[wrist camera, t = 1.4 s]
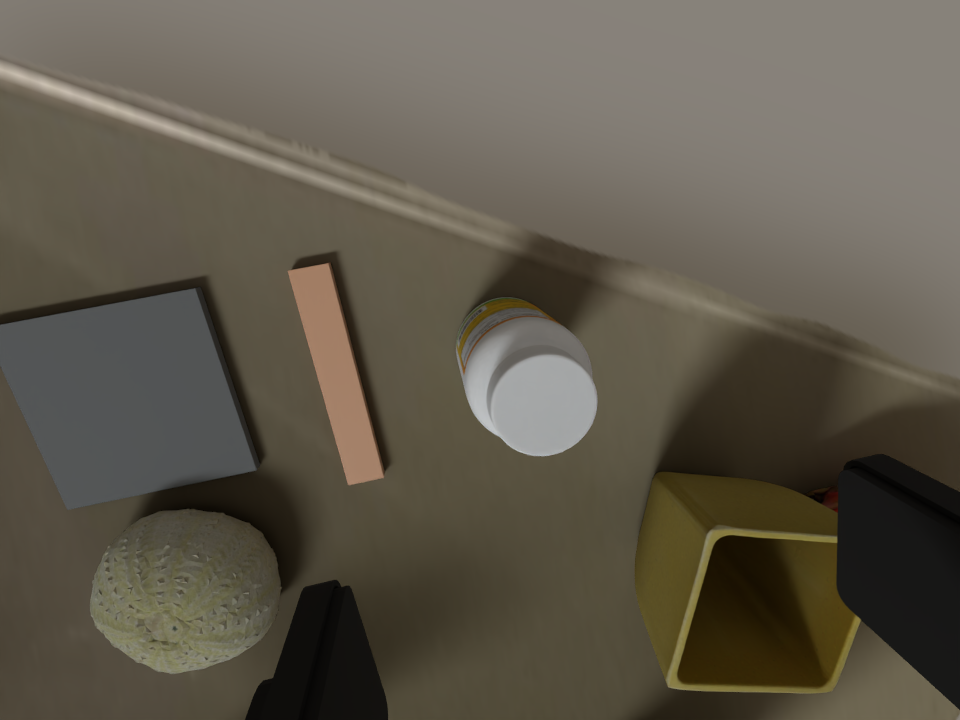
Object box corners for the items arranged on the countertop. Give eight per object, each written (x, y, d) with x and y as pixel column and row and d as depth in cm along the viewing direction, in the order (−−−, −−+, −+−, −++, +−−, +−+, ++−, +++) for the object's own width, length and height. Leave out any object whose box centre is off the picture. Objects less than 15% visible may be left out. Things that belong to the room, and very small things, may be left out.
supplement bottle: (554, 385, 28) (618, 465, 19) (460, 396, 28) (478, 483, 19) (550, 290, 27) (617, 326, 18) (450, 300, 26) (464, 342, 17)
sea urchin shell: (118, 480, 25) (176, 602, 21) (260, 472, 32) (325, 564, 28) (54, 617, 27) (96, 756, 23) (201, 583, 33) (255, 685, 29)
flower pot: (600, 566, 32) (665, 693, 23) (628, 440, 30) (712, 528, 21) (727, 572, 33) (834, 695, 24) (763, 451, 31) (894, 539, 22)
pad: (260, 465, 28) (256, 470, 27) (74, 503, 27) (67, 509, 27) (200, 286, 25) (195, 288, 24) (-7, 325, 24) (-18, 328, 24)
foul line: (384, 472, 29) (383, 477, 28) (349, 480, 28) (348, 485, 28) (330, 262, 25) (328, 263, 25) (290, 270, 25) (287, 270, 25)
